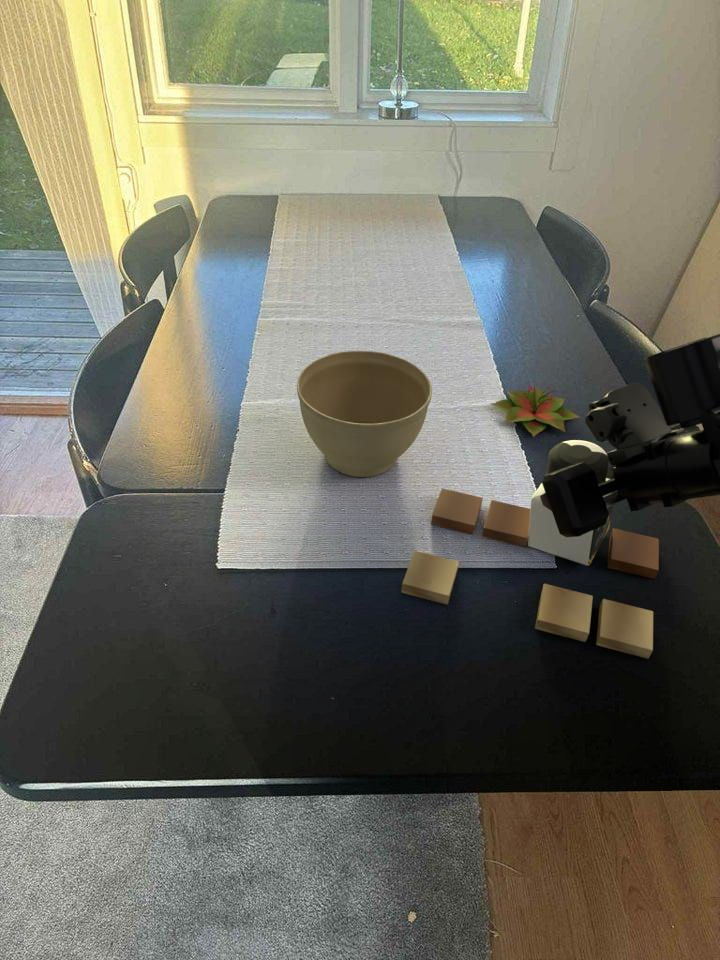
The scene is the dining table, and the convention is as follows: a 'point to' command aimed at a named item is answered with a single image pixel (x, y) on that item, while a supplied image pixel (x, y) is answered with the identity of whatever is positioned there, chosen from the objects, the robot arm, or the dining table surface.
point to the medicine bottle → (542, 519)
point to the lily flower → (535, 409)
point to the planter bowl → (363, 409)
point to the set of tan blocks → (546, 608)
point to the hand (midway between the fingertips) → (574, 486)
